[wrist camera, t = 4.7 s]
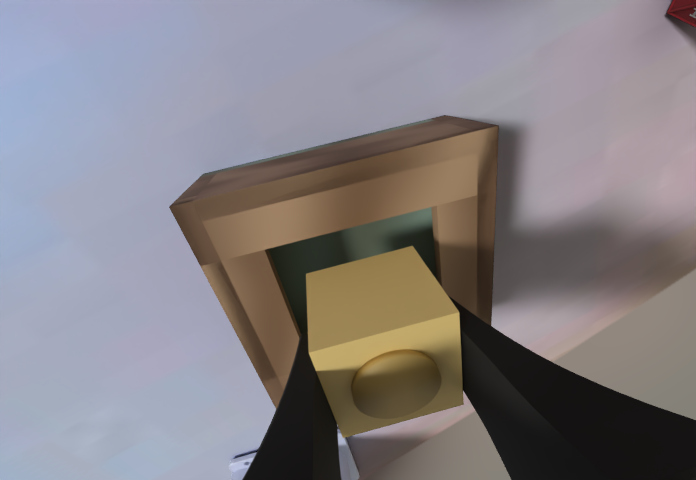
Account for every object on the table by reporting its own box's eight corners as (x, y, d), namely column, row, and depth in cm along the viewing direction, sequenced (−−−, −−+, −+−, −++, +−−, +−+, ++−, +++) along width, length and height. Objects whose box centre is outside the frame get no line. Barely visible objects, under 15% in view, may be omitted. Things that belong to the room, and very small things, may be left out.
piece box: (280, 348, 20) (277, 411, 16) (203, 174, 14) (169, 206, 10) (453, 301, 20) (490, 351, 17) (445, 115, 15) (498, 125, 11)
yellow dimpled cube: (332, 349, 14) (343, 447, 10) (305, 273, 12) (308, 361, 8) (422, 325, 14) (467, 412, 10) (412, 245, 12) (464, 319, 8)
